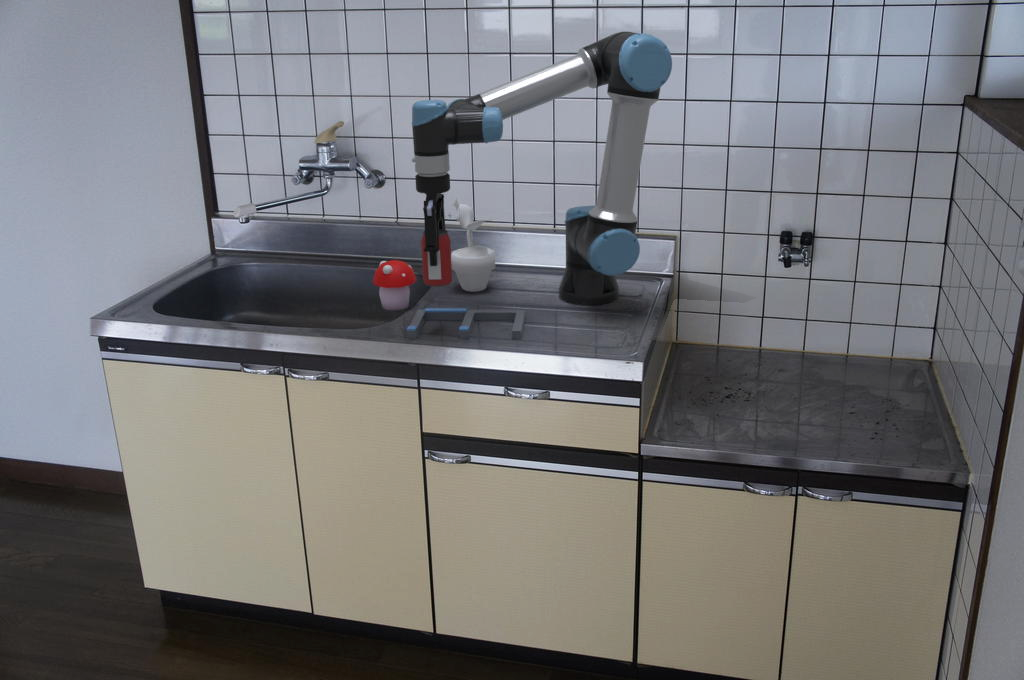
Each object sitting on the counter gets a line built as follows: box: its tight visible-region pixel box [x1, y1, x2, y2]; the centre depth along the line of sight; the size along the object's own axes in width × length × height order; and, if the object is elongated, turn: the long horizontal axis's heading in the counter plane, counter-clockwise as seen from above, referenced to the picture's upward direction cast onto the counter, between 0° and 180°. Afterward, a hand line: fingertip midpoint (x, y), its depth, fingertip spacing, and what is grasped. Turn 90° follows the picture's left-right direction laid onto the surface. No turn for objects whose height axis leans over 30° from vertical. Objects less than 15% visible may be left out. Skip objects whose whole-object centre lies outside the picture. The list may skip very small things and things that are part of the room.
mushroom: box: [372, 259, 417, 311], centre depth 241 cm, size 11×11×12 cm
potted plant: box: [446, 198, 496, 293], centre depth 250 cm, size 13×12×25 cm
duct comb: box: [406, 307, 526, 340], centre depth 226 cm, size 26×14×2 cm, turn 85°
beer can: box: [420, 229, 453, 288], centre depth 219 cm, size 7×7×12 cm
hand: (437, 273), depth 220 cm, fingers closed on beer can, 7 cm apart
